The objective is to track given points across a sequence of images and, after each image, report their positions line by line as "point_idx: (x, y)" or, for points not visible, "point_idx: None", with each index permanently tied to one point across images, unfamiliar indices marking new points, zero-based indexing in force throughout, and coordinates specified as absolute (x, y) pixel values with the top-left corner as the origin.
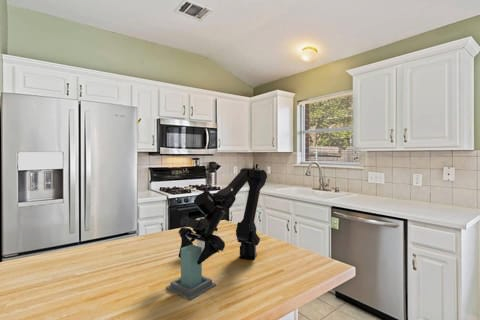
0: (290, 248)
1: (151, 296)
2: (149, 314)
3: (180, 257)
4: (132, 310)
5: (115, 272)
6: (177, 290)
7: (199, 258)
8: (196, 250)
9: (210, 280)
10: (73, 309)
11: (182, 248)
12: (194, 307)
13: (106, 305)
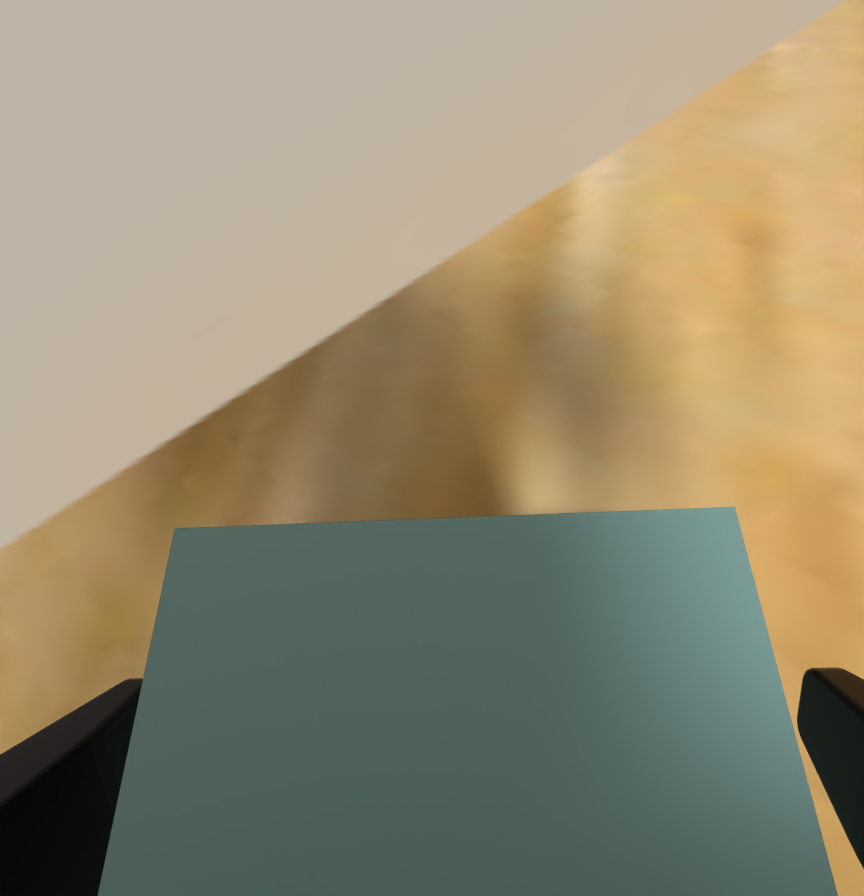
0: None
1: (625, 401)
2: (413, 291)
3: (800, 719)
4: (544, 248)
5: None
6: None
7: (46, 741)
8: (126, 859)
9: None
10: (816, 74)
11: (684, 551)
12: (195, 527)
13: (732, 178)
